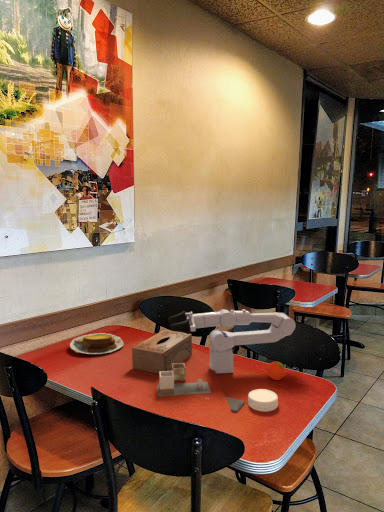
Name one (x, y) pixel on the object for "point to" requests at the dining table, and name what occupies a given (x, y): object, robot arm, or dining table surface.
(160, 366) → the tissue box cover
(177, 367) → the birch sleeve
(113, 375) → the dining table surface
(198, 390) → the pin board
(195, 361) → the dining table surface
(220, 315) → the robot arm
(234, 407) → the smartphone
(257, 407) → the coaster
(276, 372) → the clementine
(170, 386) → the cream square cup
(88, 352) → the food on plate
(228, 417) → the dining table surface
